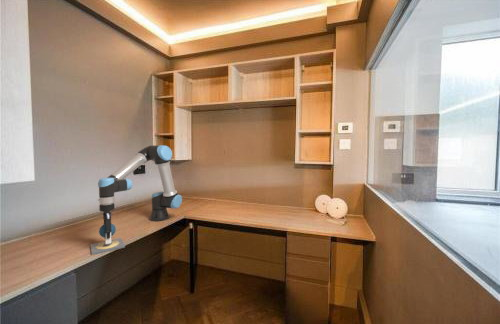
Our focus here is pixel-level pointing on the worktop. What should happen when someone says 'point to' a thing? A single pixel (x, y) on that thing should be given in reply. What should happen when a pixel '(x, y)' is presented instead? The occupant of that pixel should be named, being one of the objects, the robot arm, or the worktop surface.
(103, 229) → the light bulb
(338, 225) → the worktop surface
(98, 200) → the robot arm
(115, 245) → the socket board
